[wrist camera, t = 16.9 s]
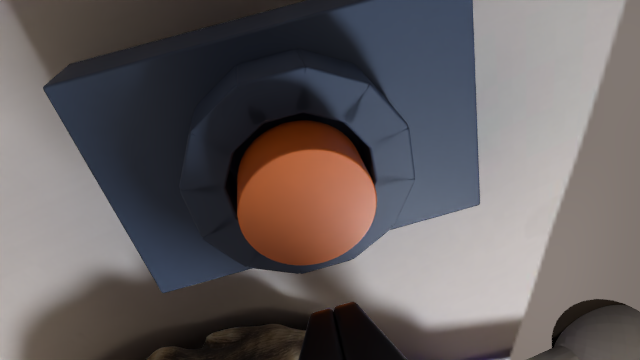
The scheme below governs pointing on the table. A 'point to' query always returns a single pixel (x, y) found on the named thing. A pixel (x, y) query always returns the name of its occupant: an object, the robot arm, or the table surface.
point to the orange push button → (304, 193)
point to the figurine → (242, 345)
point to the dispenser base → (276, 121)
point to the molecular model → (595, 333)
